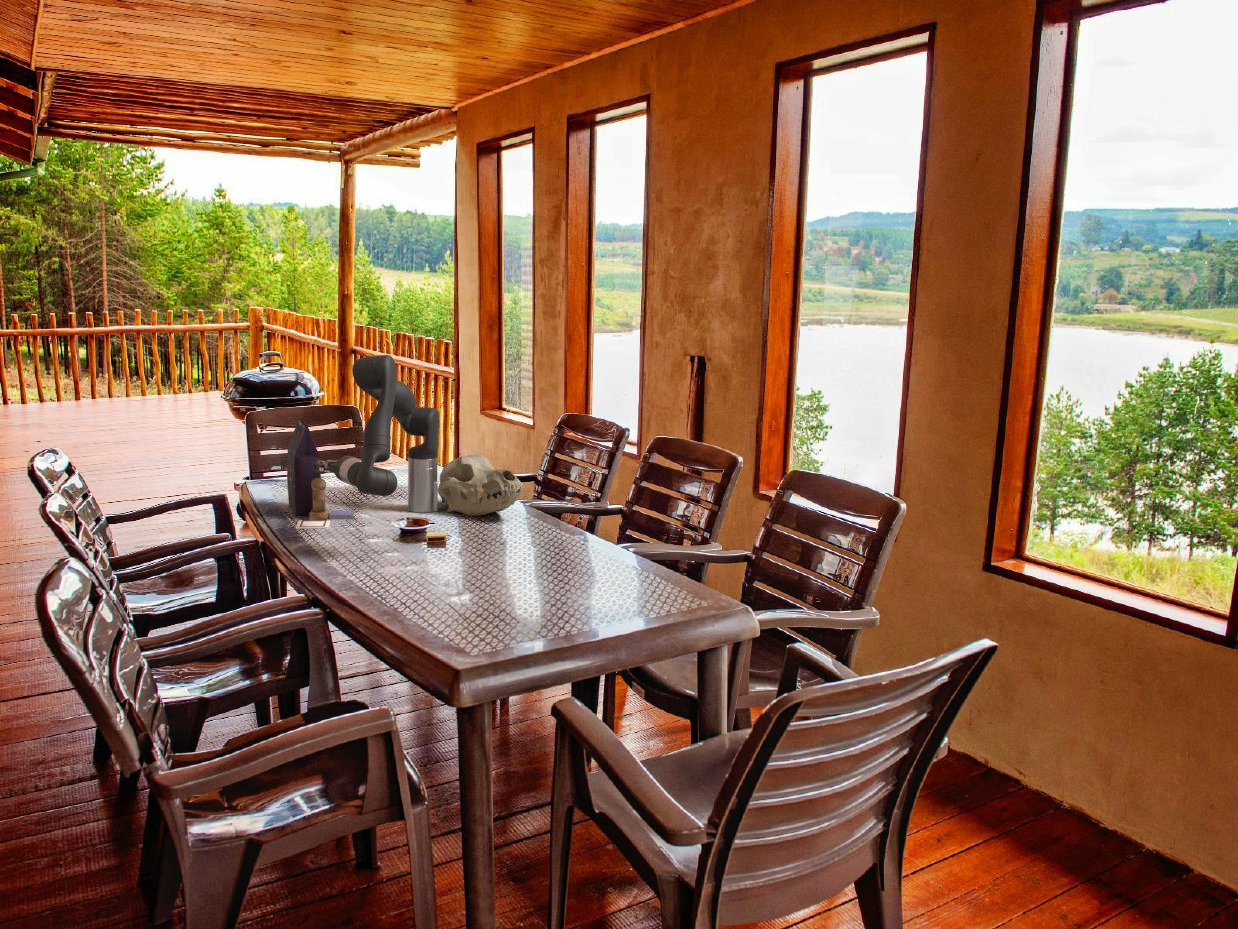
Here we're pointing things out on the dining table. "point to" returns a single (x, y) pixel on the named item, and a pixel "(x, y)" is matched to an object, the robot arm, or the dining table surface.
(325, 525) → the sheet
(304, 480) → the purple printed bag
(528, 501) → the dining table surface
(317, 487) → the stamp
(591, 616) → the dining table surface
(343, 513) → the ink pad
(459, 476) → the animal skull
